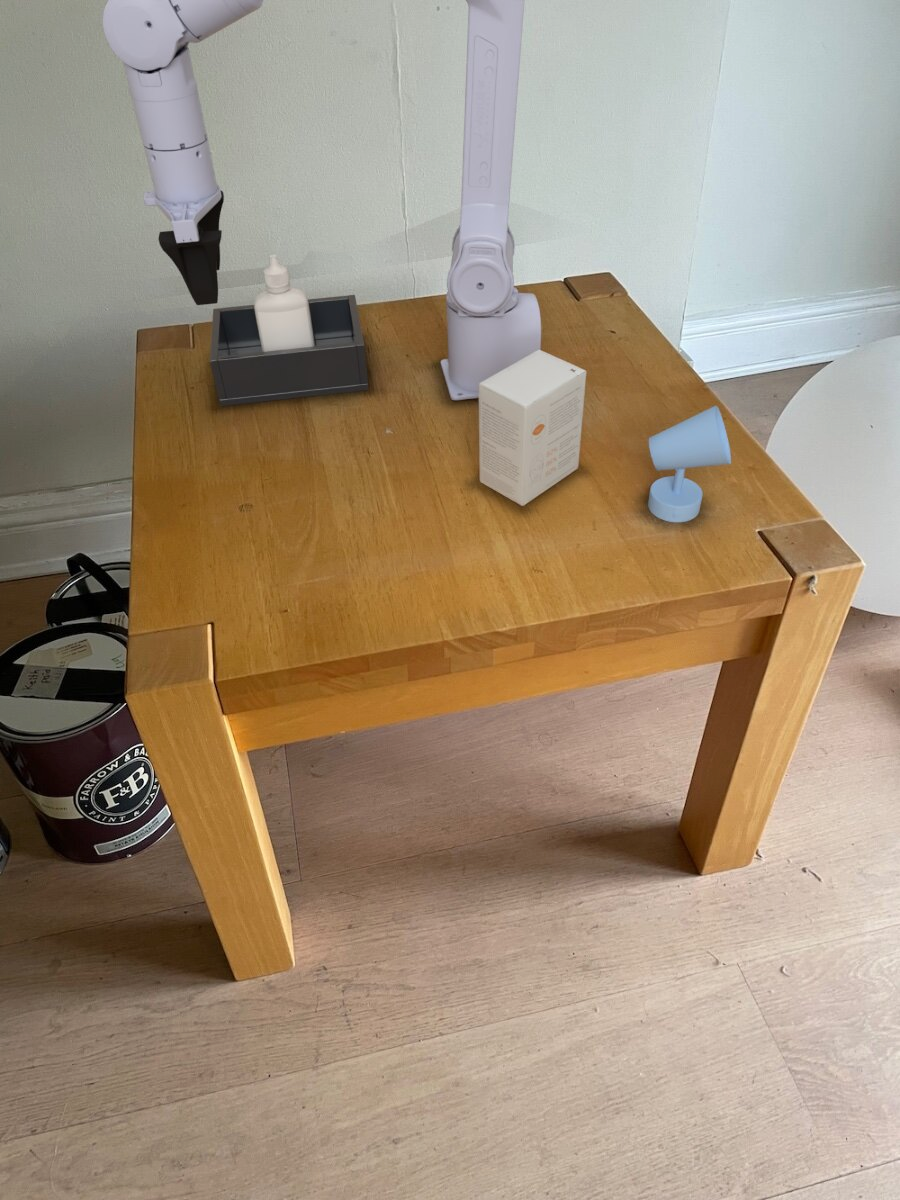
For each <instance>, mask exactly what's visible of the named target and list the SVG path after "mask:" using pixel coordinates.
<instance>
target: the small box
mask: <svg viewBox="0 0 900 1200" xmlns="http://www.w3.org/2000/svg"><path fill="white" fill-rule="evenodd" d="M587 373H588V372H587V370H585V369H583V368H581V367H579V366H577V365H575V364H573V363H571V362H568V361H566V360H564V359H561V358H559V357H558V356H555V355H553V354H550V353H548V352H547V351H544V350H537V351H535V352H533V353H532V354H530V355H528V356H526V357H525V358H523V359H521V360H519V361H518V362H516V363H514V364H512V365H511V366H509V367H507V368H505V369H503V370H502V371H500V372H498V373H497V374H495V375H493V376H491V377H489V378H488V379H486V380H484V381H482V382H480V383H479V398H478V453H479V454H478V455H479V456H478V461H479V465H478V466H479V482H480V483H481V484H482V485H485V486H486V487H488V488H490V489H492V490H493V491H494V492H495V491H496V492H497V493H499V494H500V495H502V496H504V497H506V498H507V499H509V500H511V501H512V502H514V503H516V504H517V505H519V506H521V507H524V506H525V505H527V504H528V503H530V502H531V501H533V500H534V499H536V498H537V497H538V496H540V495H541V494H543V493H544V492H546V491H547V490H549V489H550V488H552V487H553V486H554V485H556V484H558V483H559V482H560V481H562V480H563V479H565V478H566V477H568V476H569V475H571V474H572V473H574V472H575V471H576V470H578V469H579V465H580V464H579V462H580V451H581V440H582V429H583V418H584V404H585V395H586V393H585V392H586V381H587Z"/></svg>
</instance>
